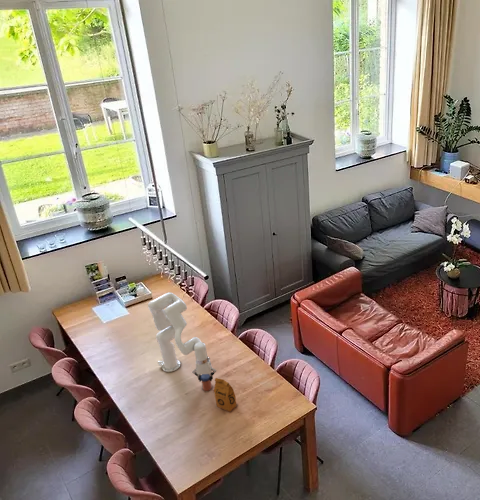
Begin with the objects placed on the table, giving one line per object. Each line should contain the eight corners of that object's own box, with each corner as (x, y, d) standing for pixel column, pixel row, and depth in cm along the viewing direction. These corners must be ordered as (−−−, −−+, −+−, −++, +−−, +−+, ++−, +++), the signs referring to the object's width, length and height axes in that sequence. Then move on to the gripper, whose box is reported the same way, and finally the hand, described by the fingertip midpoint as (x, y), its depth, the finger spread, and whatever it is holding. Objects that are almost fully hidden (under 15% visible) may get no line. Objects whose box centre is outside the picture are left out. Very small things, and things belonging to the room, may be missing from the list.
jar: (202, 391, 356) (200, 380, 352) (203, 384, 362) (201, 374, 357) (211, 390, 357) (209, 380, 352) (212, 384, 362) (210, 374, 357)
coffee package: (228, 414, 337) (224, 388, 327) (214, 407, 343) (210, 381, 333) (239, 404, 345) (235, 379, 334) (225, 397, 351) (221, 372, 340)
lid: (201, 375, 358) (201, 373, 357) (211, 374, 358) (211, 372, 357) (199, 381, 352) (199, 379, 351) (209, 381, 352) (209, 379, 352)
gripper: (216, 355, 351) (219, 375, 360) (190, 356, 350) (194, 376, 359) (214, 362, 344) (217, 383, 353) (187, 363, 344) (191, 384, 352)
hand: (205, 379), depth 356 cm, fingers closed on lid, 6 cm apart
